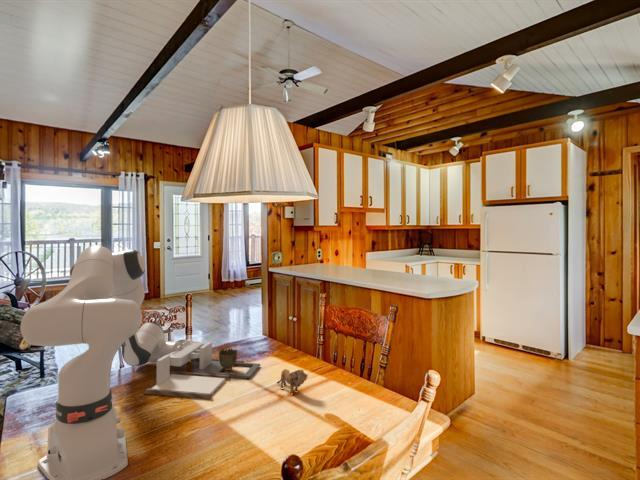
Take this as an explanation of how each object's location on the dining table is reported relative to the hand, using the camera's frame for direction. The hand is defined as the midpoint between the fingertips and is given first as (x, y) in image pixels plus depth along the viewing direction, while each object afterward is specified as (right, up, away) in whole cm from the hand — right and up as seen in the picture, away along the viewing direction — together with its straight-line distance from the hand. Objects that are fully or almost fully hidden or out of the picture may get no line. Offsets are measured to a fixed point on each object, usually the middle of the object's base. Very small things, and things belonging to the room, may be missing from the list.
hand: (204, 354), depth 148 cm
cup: (+10, -6, -1) cm, 12 cm away
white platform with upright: (0, -6, -17) cm, 18 cm away
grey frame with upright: (+11, -6, -1) cm, 13 cm away
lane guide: (+1, -6, -9) cm, 11 cm away
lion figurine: (+38, -7, -19) cm, 43 cm away
